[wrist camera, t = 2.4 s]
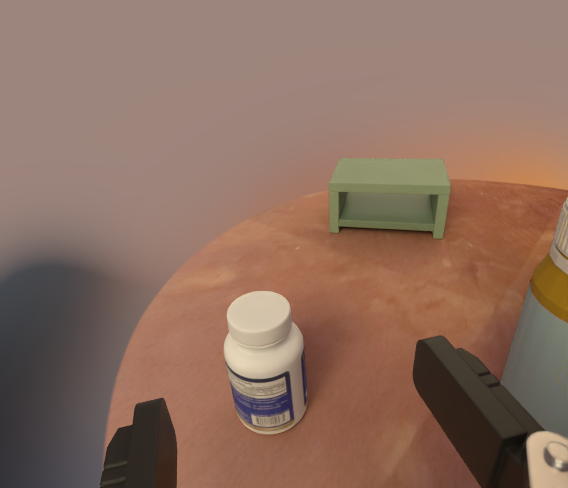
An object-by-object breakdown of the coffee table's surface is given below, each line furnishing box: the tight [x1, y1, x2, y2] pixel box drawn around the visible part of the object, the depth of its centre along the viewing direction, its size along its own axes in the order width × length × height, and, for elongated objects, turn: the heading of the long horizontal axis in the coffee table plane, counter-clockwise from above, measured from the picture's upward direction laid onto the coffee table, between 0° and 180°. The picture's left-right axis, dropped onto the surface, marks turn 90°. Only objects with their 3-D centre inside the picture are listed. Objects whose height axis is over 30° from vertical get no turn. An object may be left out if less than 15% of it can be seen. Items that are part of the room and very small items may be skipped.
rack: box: [329, 158, 451, 239], centre depth 51 cm, size 14×10×7 cm
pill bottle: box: [224, 291, 308, 435], centre depth 26 cm, size 5×5×9 cm
